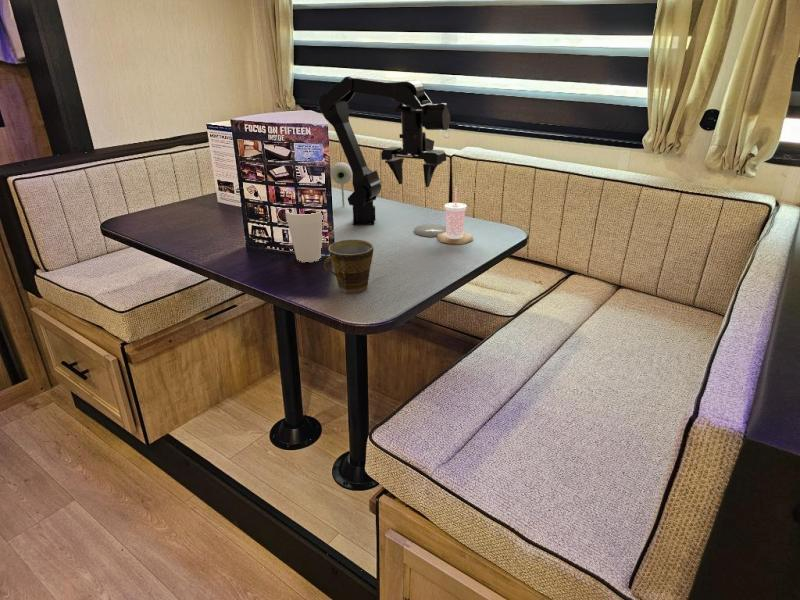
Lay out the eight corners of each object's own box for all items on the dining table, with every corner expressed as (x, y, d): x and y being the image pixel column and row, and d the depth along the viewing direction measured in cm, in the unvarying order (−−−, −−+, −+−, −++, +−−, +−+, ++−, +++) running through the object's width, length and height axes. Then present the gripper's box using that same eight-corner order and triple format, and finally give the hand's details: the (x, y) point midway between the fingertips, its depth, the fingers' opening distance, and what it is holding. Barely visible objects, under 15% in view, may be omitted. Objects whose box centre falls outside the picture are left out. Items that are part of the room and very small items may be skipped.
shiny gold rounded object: (439, 244, 149) (439, 242, 149) (435, 233, 158) (435, 231, 158) (475, 243, 150) (475, 241, 149) (469, 232, 159) (469, 230, 158)
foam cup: (332, 253, 144) (329, 205, 139) (318, 266, 136) (314, 216, 131) (299, 250, 147) (295, 203, 141) (284, 262, 139) (278, 213, 133)
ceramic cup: (353, 276, 130) (351, 236, 126) (384, 286, 124) (382, 245, 120) (312, 293, 122) (308, 251, 117) (342, 306, 116) (339, 262, 111)
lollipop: (332, 210, 181) (329, 164, 175) (333, 204, 188) (330, 160, 181) (354, 209, 182) (351, 164, 175) (353, 203, 188) (351, 159, 182)
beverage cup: (439, 234, 155) (440, 186, 149) (458, 231, 157) (460, 183, 151) (450, 241, 150) (451, 191, 144) (469, 238, 152) (471, 188, 146)
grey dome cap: (415, 237, 155) (415, 235, 155) (413, 226, 164) (413, 224, 164) (450, 236, 156) (450, 234, 155) (445, 225, 165) (445, 223, 164)
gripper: (455, 126, 151) (455, 182, 158) (400, 124, 161) (402, 177, 167) (435, 132, 143) (436, 191, 149) (378, 129, 153) (381, 184, 159)
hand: (413, 185), depth 157 cm, fingers open, 9 cm apart
